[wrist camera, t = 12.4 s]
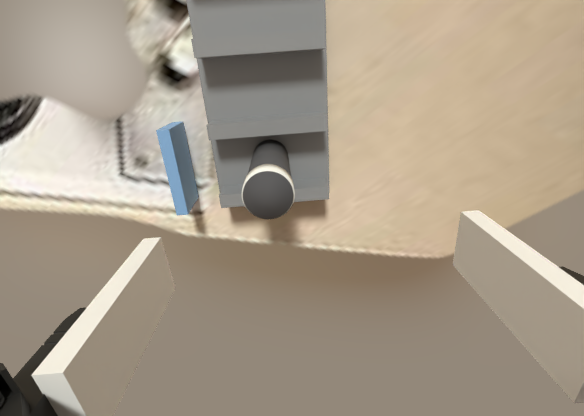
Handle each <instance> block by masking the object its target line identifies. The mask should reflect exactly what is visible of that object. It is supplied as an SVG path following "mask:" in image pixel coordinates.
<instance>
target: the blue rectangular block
mask: <svg viewBox="0 0 584 416" xmlns="http://www.w3.org/2000/svg"><path fill="white" fill-rule="evenodd" d="M156 131H157V135H158V139H159V144H160V148H161V152H162V156H163V160H164V164H165V168H166V172H167V176H168V181H169V185H170V189H171V193H172V197H173V201H174V205H175V209H176V213H177V215H186V214H189V212H190V210H191V209H192V207H193V206H194V204H195V202H196V201H197V199H198V197H199V196H198V191H197V187H196V182H195V177H194V172H193V167H192V162H191V157H190V153H189V148H188V143H187V138H186V133H185V128H184V123H183V122H173V123H170V124H168V125H166V126H164V127H162V128H160V129H158V130H156Z"/></svg>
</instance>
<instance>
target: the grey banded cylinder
mask: <svg viewBox="0 0 584 416" xmlns="http://www.w3.org/2000/svg"><path fill="white" fill-rule="evenodd" d="M294 198H295V192H294V185H293V181H292V178H291V172H290V165H289V158H288V152H287V150H286V148H285V146H284V145H283V144H282V143H280V142H279V141H276V140H265V141H262V142H261V143H259V144H258V145H257V146H256V148H255V150H254V153H253V156H252V160H251V164H250V167H249V171H248V174H247V176H246V178H245V181H244V184H243V188H242V201H243V203H244V205H245V207H246V208H247V210H248V211H249V212H250V213H251V214H253V215H254V216H257V217H259V218H262V219H275V218H278V217H281V216H282V215H284V214H285V213H287V212H288V211H289V209H290V208H291V207H292V205H293V202H294Z"/></svg>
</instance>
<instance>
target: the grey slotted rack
mask: <svg viewBox="0 0 584 416" xmlns="http://www.w3.org/2000/svg"><path fill="white" fill-rule="evenodd" d="M187 6H188V12H189V17H190V23H191V29H192V35H193V39H191V40H192V46H193V51H194V57H195V58H197V63H198V69H199V75H200V80H201V86H202V92H203V98H204V103H205V109H206V115H207V121H208V124H207V130H208V136H209V140H211V143H212V149H213V155H214V161H215V166H216V172H217V178H218V184H219V189H220V194H219V198H220V204H221V208H227V207H239V206H245V205H244V203H243V201H242V188H243V184H244V181H245V178H246V176H247V174H248V171H249V167H250V164H251V160H252V156H253V153H254V150H255V148H256V146H257V145H258V144H259V143H261V142H262V141H265V140H276V141H279V142H280V143H282V144H283V145H284V146H285V148H286V150H287V152H288V158H289V165H290V172H291V178H292V181H293V185H294V192H295V198H294V202H300V201H313V200H325V199H329V155H328V107H327V59H326V11H325V0H187Z"/></svg>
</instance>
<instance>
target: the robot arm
mask: <svg viewBox="0 0 584 416" xmlns="http://www.w3.org/2000/svg"><path fill="white" fill-rule="evenodd" d="M453 266H454V267H455V268H456V269H457V270H458V271H459V272H460V273H461V275H462V276H463V277H464V278H465V279H466V280H467V282H468V283H469V284H470V285H471V286H472V287H473V288H474V289H475V291H476V292H477V293H478V294H479V295H480V296H481V298H482V299H483V300H484V301H485V302H486V303H487V304H488V306H489V307H490V308H491V309H492V310H493V311H494V312H495V314H496V315H497V316H498V317H499V318H500V319H501V320H502V321H503V323H504V324H505V325H506V326H507V327H508V328H509V329H510V331H511V332H512V333H513V334H514V335H515V336H516V337H517V339H518V340H519V341H520V342H521V343H522V344H523V345H524V347H525V348H526V349H527V350H528V351H529V352H530V353H531V355H532V356H533V357H534V358H535V359H536V360H537V361H538V363H539V364H540V365H541V366H542V367H543V368H544V369H545V371H546V372H547V373H548V374H549V375H550V376H551V377H552V379H553V380H554V381H555V382H556V383H557V384H558V385H559V387H560V388H561V389H562V390H563V391H564V392H565V393H566V395H567V396H568V397H569V398H570V399H571V400H572V401H573V402H574V403H582V402H584V276H582V275H580V274H578V273H576V272H574V271H571V270H569V269H567V268H565V267H557V266H556V265H555V264H553V263H552V262H550V261H549V260H548V259H546V258H545V257H543V256H542V255H541V254H539V253H538V252H536V251H535V250H534V249H532V248H531V247H529V246H528V245H527V244H525V243H524V242H522V241H521V240H520V239H518V238H517V237H515V236H514V235H513V234H511V233H510V232H508V231H507V230H506V229H504V228H503V227H501V226H500V225H499V224H497V223H496V222H494V221H493V220H492V219H490V218H489V217H487V216H486V215H485V214H483V213H482V212H480V211H479V210H476V211H464V212H461V215H460V221H459V228H458V234H457V241H456V247H455V253H454V260H453ZM175 288H176V287H175V284H174V281H173V277H172V274H171V271H170V267H169V263H168V260H167V256H166V253H165V250H164V246H163V243H162V239H161V237H160V238H149V239H143V240H142V241H141V243H140V244H139V245H138V247H136V249H135V250H134V251H133V252H132V254H131V255H130V256H129V257H128V258H127V260H126V261H125V262H124V264H123V265H122V266H121V267H120V268H119V269H118V271H117V272H116V273H115V274H114V275H113V277H112V278H111V279H110V280H109V282H108V283H107V284H106V285H105V286H104V288H103V289H102V290H101V291H100V292H99V294H98V295H97V296H96V297H95V298H94V300H93V301H92V302H91V303H90V305H89V306H88V307H87V308H80V309H78V310H77V311H75V312H74V313H73V314H71V315H70V316H69V317H67V318H66V319H65V320H64V321H63V322H62V323H61V324H60V325H59V327H58V328H57V329H56V330H55V331H54V334H53V335H51V336H50V337H49V338H48V339H47V340H46V342H45V344H44V345H42V346H41V347H40V348H39V350H38V351H37V352H36V353H35V354H34V355H33V356H32V358H31V359H30V360H29V361H28V362H27V363H26V364H25V366H24V367H23V368H22V369H21V370H20V371H19V372H18V374H17V375H16V376H15V377H14V378H12V377H11V376H10V374H9V372H8V371H7V369H6V368H5V366H4V365H3V364H2V363H0V416H113V415H114V413H115V411H116V409H117V407H118V405H119V403H120V401H121V399H122V397H123V395H124V392H125V390H126V388H127V386H128V384H129V382H130V380H131V378H132V376H133V374H134V372H135V370H136V368H137V366H138V364H139V362H140V360H141V358H142V356H143V353H144V351H145V350H146V347H147V346H148V343H149V342H150V339H151V337H152V335H153V333H154V331H155V329H156V327H157V325H158V323H159V321H160V319H161V317H162V315H163V313H164V311H165V309H166V307H167V305H168V303H169V301H170V299H171V297H172V295H173V292H174V290H175Z"/></svg>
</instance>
